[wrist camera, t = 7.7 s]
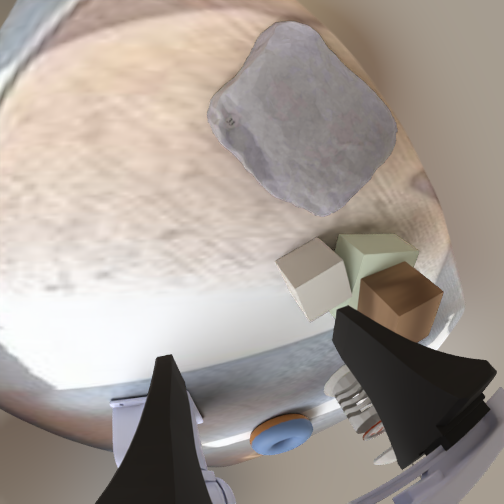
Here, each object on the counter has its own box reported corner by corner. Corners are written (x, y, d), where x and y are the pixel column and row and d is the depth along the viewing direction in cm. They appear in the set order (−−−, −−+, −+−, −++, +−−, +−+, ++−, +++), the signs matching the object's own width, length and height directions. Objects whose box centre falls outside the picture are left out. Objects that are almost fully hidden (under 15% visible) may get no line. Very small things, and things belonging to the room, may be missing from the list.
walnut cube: (355, 322, 23) (386, 360, 19) (360, 278, 21) (399, 316, 17) (396, 304, 24) (428, 335, 20) (404, 261, 22) (443, 291, 18)
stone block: (306, 207, 23) (383, 122, 19) (325, 239, 19) (419, 139, 15) (185, 123, 18) (274, 18, 14) (177, 138, 14) (293, 4, 10)
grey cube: (290, 293, 24) (310, 322, 21) (274, 260, 22) (294, 288, 19) (328, 271, 25) (352, 296, 21) (316, 236, 22) (343, 260, 19)
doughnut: (318, 405, 37) (327, 430, 33) (295, 432, 42) (301, 453, 38) (256, 411, 34) (262, 438, 30) (241, 437, 39) (245, 460, 35)
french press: (310, 397, 35) (389, 537, 14) (362, 340, 32) (474, 491, 11) (352, 395, 40) (424, 508, 18) (398, 345, 36) (491, 461, 15)
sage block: (319, 299, 26) (340, 326, 23) (336, 232, 23) (364, 254, 20) (373, 291, 28) (395, 312, 25) (392, 232, 25) (419, 250, 22)
